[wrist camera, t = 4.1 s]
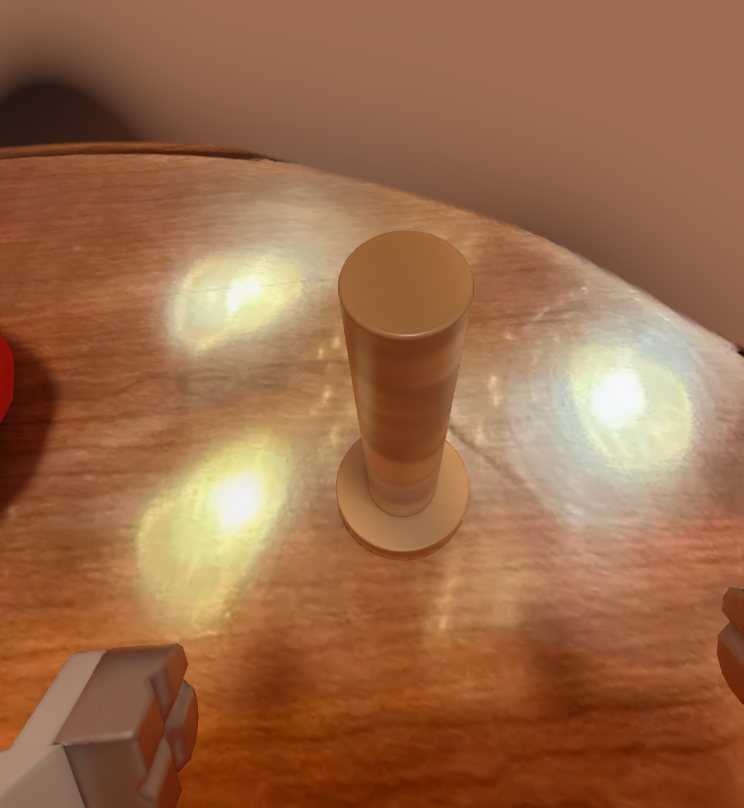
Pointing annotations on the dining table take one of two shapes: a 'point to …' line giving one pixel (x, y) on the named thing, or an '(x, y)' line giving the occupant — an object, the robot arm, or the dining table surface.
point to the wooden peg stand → (404, 392)
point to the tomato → (6, 377)
